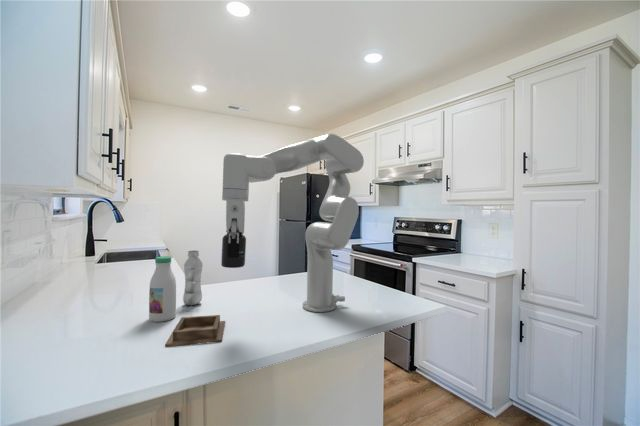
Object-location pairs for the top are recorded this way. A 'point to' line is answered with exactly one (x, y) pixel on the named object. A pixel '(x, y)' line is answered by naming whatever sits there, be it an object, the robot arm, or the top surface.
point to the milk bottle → (162, 291)
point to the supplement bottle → (242, 250)
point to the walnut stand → (197, 330)
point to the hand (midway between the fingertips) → (233, 255)
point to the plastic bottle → (192, 279)
